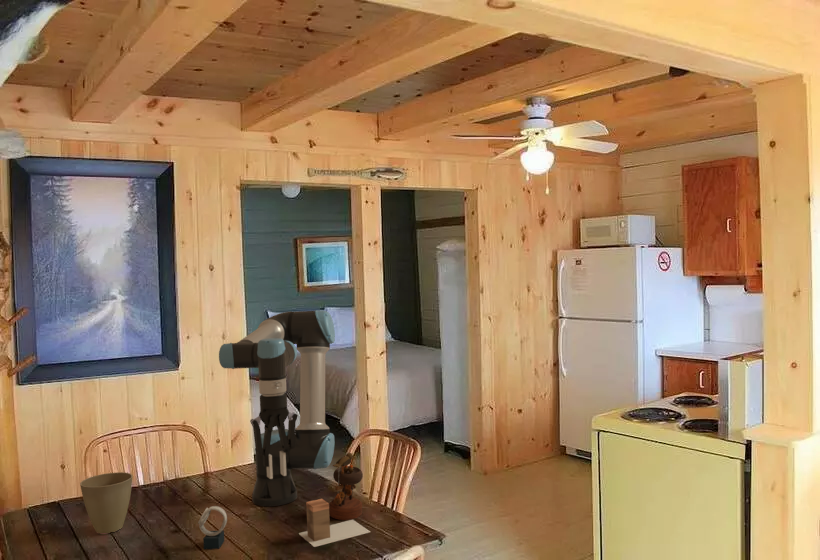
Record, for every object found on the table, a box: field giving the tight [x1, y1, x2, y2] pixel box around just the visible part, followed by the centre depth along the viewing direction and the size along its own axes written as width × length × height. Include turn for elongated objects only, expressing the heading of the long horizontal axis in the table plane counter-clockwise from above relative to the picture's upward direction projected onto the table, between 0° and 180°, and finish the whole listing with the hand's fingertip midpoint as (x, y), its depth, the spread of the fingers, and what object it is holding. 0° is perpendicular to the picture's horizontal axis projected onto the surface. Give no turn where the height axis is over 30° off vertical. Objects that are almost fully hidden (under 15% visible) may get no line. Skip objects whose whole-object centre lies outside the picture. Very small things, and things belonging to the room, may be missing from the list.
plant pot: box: [79, 471, 133, 533], centre depth 212 cm, size 15×15×16 cm
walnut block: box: [305, 498, 331, 541], centre depth 199 cm, size 5×5×10 cm
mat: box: [298, 519, 371, 548], centre depth 202 cm, size 12×18×1 cm, turn 121°
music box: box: [329, 452, 364, 521], centre depth 217 cm, size 15×11×20 cm
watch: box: [198, 505, 228, 550], centre depth 197 cm, size 6×8×11 cm
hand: (276, 475), depth 193 cm, fingers open, 3 cm apart
